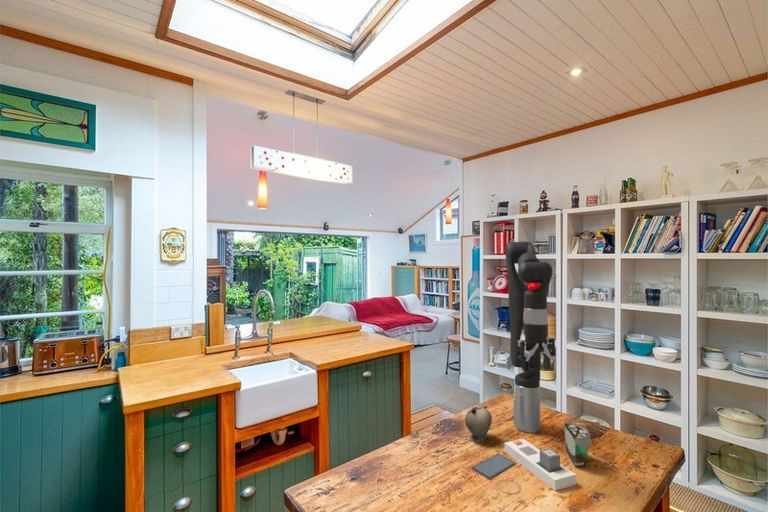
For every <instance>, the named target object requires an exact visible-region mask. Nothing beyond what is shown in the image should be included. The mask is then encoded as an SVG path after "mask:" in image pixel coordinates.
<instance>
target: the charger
mask: <svg viewBox="0 0 768 512" xmlns="http://www.w3.org/2000/svg"><path fill="white" fill-rule="evenodd" d="M560 464H561V455H560V454H558V453H557V452H556V451H554V450H552V448H546V449H542V450H540V466H541V467H542V468H543V469H545V470H546V471H547V472H549V473H551V472H555V471H559V470H560Z"/></svg>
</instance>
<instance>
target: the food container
mask: <svg viewBox="0 0 768 512" xmlns="http://www.w3.org/2000/svg"><path fill="white" fill-rule="evenodd" d="M563 427H564V429H563V430H564V443H565V446H564V449H565V453H566V455H567V456H568V458H569V460H570V462H571V463H572V465H573V467H574V468H576V469H579V468H580V469H581V468H585V467H587V465H588V460H589V459H588V456H589V444H590V443H591V442H592V438H591V434H590V433H589V430H587V428H586V427H584V426H582V425H580V424H577V423H574V422H571V421H570V422H568V421H564V422H563Z"/></svg>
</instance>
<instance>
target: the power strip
mask: <svg viewBox="0 0 768 512" xmlns="http://www.w3.org/2000/svg"><path fill="white" fill-rule="evenodd" d="M504 441H505V442H504V452H505V453H506V454H508V455H509V456H510V457H511V458H512V459H514V460H515V462H518V463H519V464H520V465H522V466H523V467H524V468H525V469H527V470H528V471H529V472H530V473H532V474H533V475H535V477H537V478H538V479H540V480H541V481H542V482H544V484H546V485H547V486H548V487H550V489H552V490H554V491H555V492H557V491H558V490H562V489H566V488H569V487H573V486H576V485H577V474H576V473H575V472H573V471H572V470H570V469H569V468H567V467H566V466H565V465H563V464H561V463H560V470H559V471H555V472H551V473H549V472H547V471H546V470H545V469H543V468H542V467H541V466H540V451H541V449H539V448H538V447H536V446H534V445H533V444H531V443H530V442H529V441H527V440H526V439H524V438H521V439H515V440H512V441H511V440H510V439H508V438H505V440H504Z"/></svg>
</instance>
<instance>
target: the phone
mask: <svg viewBox="0 0 768 512" xmlns="http://www.w3.org/2000/svg"><path fill="white" fill-rule="evenodd" d="M516 464H517V461H514V460H512V459H510V458H508V457H506V456H505V455H502V454H501V453H496V454H494V455H493V456H490V457H488V458H487V459H485V460H483V461H481V462H479V463H478V464H475V465H473V466H471V468H470V469H471V470H473V471H474V472H476V473H477V474H478V475H481V476H482V477H484V478H486V479H488V480H490V481H491V479H493V478H495V477H497V476H498V475H500V474H502V473H503V472H506V471H507V470H508V469H509V468H512V467H513V466H515V465H516Z"/></svg>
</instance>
